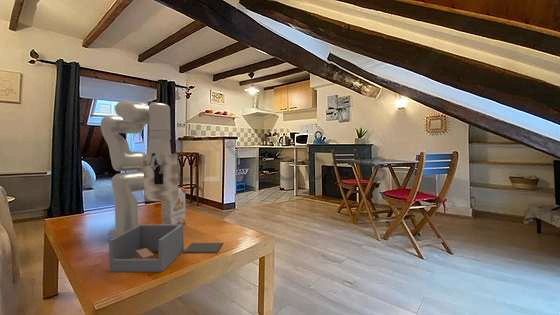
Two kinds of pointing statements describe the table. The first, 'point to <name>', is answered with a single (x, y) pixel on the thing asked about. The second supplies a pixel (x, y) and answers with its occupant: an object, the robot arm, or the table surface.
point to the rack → (149, 237)
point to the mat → (203, 248)
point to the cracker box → (174, 210)
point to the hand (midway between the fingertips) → (161, 183)
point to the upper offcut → (144, 254)
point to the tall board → (170, 180)
